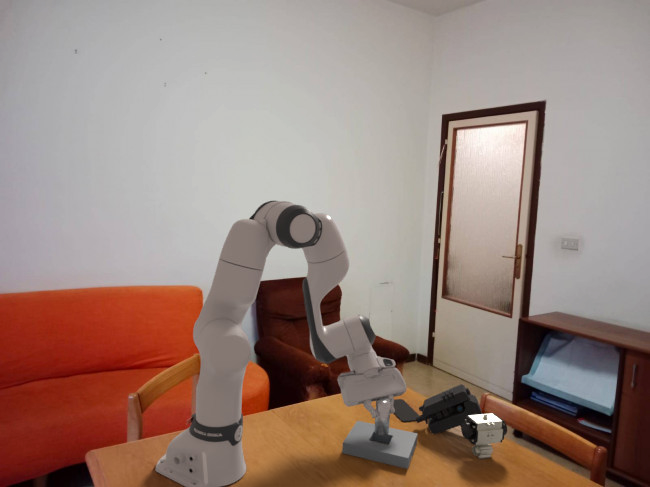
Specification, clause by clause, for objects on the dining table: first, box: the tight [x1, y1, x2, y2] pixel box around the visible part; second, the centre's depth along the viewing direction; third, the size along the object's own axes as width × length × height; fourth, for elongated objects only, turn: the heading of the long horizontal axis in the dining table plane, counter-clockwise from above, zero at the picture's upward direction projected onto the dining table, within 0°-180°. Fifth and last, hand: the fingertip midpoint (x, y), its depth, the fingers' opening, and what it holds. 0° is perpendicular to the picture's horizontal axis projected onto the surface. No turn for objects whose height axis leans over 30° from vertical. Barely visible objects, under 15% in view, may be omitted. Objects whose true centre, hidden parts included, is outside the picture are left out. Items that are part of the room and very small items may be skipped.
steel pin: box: [374, 398, 391, 435], centre depth 133 cm, size 4×4×9 cm
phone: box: [393, 398, 420, 423], centre depth 158 cm, size 7×1×15 cm
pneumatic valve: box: [460, 412, 508, 460], centre depth 131 cm, size 6×12×12 cm, turn 105°
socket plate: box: [341, 420, 418, 470], centre depth 134 cm, size 18×14×3 cm
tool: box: [415, 383, 483, 435], centre depth 144 cm, size 6×19×15 cm, turn 78°
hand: (384, 415), depth 132 cm, fingers closed on steel pin, 4 cm apart
